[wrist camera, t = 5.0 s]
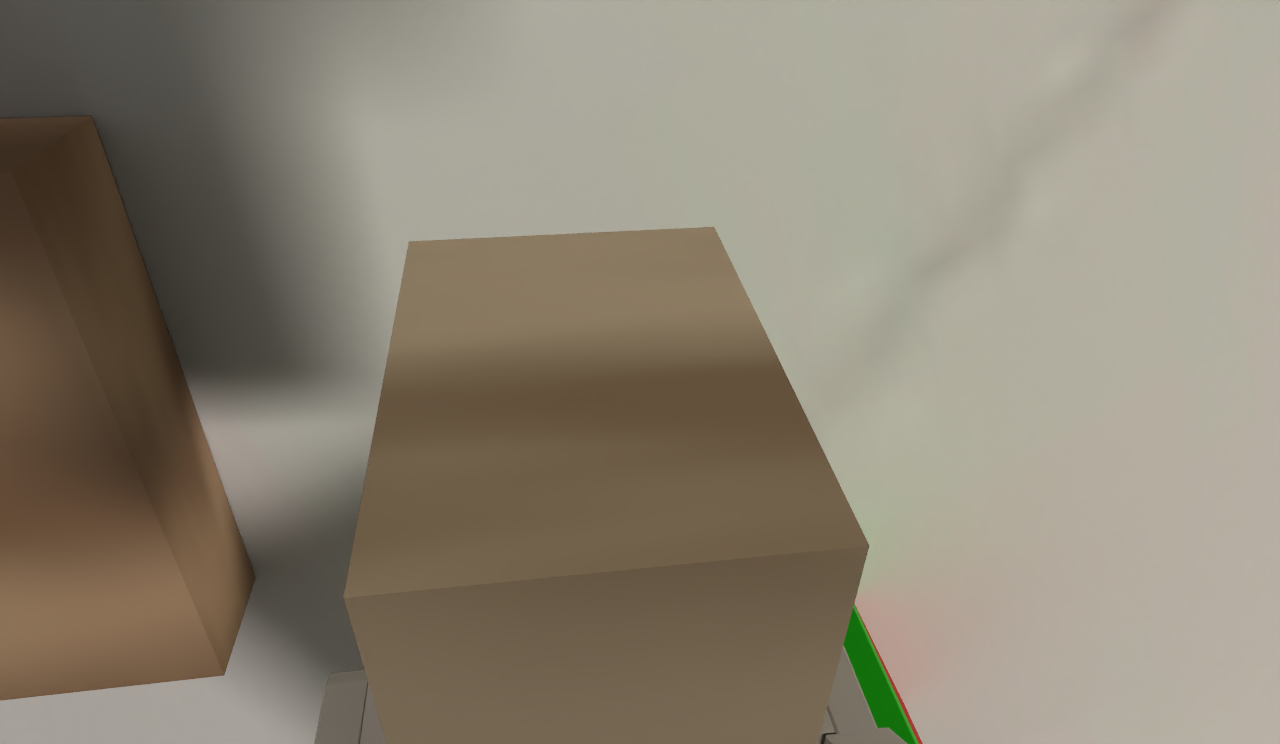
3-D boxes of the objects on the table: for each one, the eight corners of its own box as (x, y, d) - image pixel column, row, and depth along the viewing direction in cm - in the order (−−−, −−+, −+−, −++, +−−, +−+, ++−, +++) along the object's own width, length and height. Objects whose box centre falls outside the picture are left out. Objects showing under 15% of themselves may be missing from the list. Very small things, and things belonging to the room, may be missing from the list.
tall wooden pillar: (408, 241, 9) (341, 598, 5) (714, 226, 10) (868, 544, 6) (492, 764, 16) (492, 1105, 12) (674, 741, 16) (734, 1062, 12)
